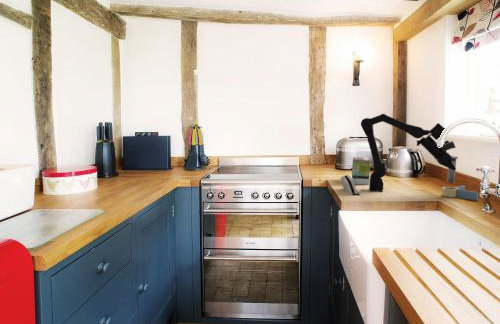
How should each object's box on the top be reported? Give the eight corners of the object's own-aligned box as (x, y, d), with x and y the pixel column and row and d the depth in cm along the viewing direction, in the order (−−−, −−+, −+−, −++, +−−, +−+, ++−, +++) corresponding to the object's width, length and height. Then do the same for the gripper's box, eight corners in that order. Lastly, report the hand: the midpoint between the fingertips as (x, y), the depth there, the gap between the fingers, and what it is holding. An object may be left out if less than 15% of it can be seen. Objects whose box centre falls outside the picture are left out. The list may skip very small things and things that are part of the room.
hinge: (360, 195, 187) (354, 176, 186) (351, 198, 188) (345, 179, 187) (352, 188, 204) (347, 171, 203) (344, 191, 204) (338, 174, 203)
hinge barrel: (448, 199, 178) (448, 191, 177) (437, 191, 196) (437, 184, 196) (478, 200, 175) (478, 192, 175) (464, 193, 194) (464, 185, 193)
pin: (449, 183, 183) (451, 157, 182) (444, 181, 187) (446, 156, 186) (457, 183, 184) (459, 156, 182) (451, 181, 188) (453, 156, 186)
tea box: (369, 185, 216) (370, 159, 214) (351, 184, 218) (352, 159, 216) (368, 180, 230) (369, 157, 228) (351, 180, 233) (352, 156, 231)
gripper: (447, 136, 176) (472, 160, 173) (443, 134, 193) (465, 156, 190) (427, 152, 179) (451, 176, 177) (425, 149, 197) (447, 171, 194)
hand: (454, 169), depth 184 cm, fingers closed on pin, 3 cm apart
